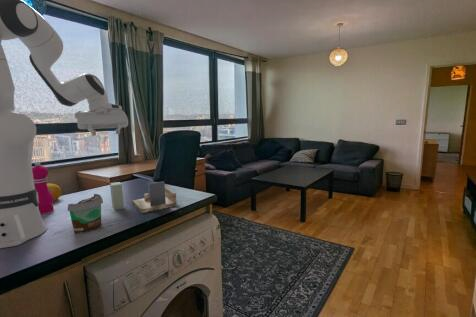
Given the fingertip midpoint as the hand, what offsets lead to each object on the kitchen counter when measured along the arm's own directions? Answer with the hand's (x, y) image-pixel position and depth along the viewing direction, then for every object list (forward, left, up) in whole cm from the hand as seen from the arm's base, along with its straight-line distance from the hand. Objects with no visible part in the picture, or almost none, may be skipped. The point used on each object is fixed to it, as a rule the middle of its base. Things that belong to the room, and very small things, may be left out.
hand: (106, 133), depth 116 cm
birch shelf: (+13, -18, -29) cm, 37 cm away
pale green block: (0, -12, -29) cm, 32 cm away
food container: (-11, -29, -30) cm, 43 cm away
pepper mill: (-25, +1, -30) cm, 39 cm away
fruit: (-23, +16, -30) cm, 41 cm away
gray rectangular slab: (+13, -23, -28) cm, 39 cm away
